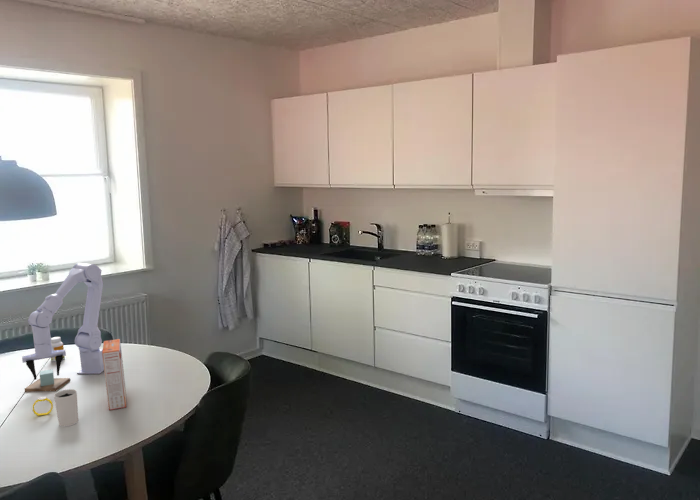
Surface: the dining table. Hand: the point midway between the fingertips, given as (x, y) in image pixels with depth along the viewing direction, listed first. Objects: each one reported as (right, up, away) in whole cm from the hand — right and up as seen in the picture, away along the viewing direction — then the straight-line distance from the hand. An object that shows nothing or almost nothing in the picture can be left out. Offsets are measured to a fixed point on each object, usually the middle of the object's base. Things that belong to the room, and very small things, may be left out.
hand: (46, 376), depth 222 cm
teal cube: (0, -3, 0) cm, 3 cm away
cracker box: (+33, -6, -16) cm, 37 cm away
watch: (+12, -8, -25) cm, 28 cm away
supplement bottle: (-11, 0, +31) cm, 33 cm away
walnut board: (0, -4, +1) cm, 4 cm away
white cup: (+23, -8, -31) cm, 40 cm away
